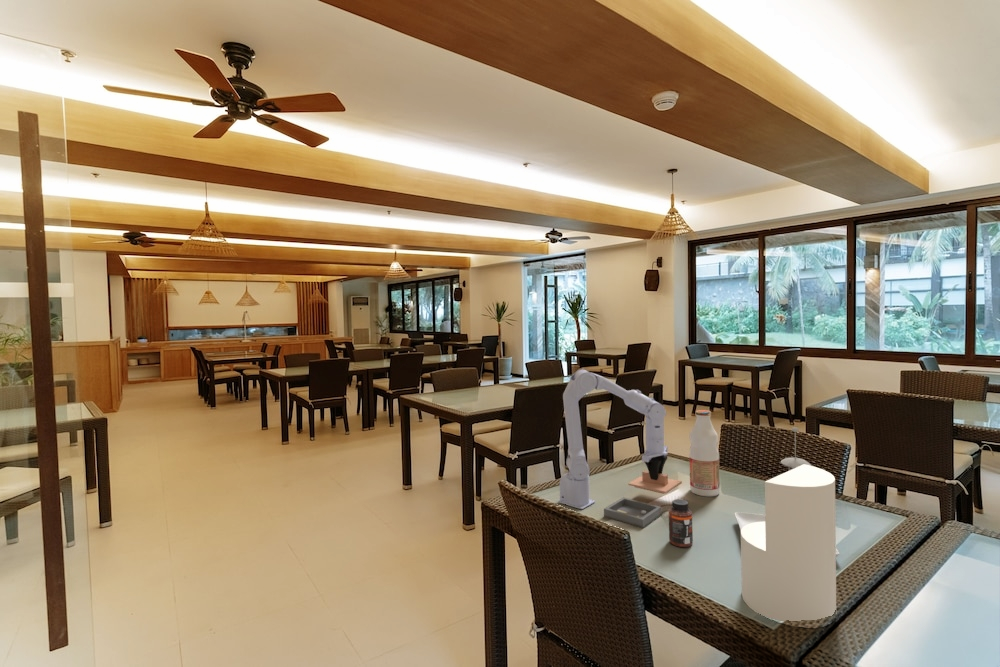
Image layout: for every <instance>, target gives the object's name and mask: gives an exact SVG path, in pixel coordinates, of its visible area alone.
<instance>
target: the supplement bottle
mask: <svg viewBox="0 0 1000 667" xmlns="http://www.w3.org/2000/svg"><path fill="white" fill-rule="evenodd" d="M671 506H672V507H670V508H668V509H669V510H668V535H669V536H668V539H669V542H670V543H671V545H673V546H675V547H679V548H688V547H691V546H692V545H693V536H694V535H693V512H692V510H691V509H689V502H688V501H687V500H685V499H681V498H680V499H678V498H677V499H673V500H672V504H671Z"/></svg>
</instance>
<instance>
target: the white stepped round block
mask: <svg viewBox="0 0 1000 667" xmlns="http://www.w3.org/2000/svg"><path fill="white" fill-rule="evenodd" d="M764 509H765V510H764V514H765V521H763V522H754V523H750V524H747V525H745V526H744V527H743V528H742V529H741V531H740V566H741V567H740V571H741V574H740V575H741V576H740V577H741V580H740V581H741V582H740V583H741V597H742V599H743V601H744V602H745V604H746V605H747V606H748V607H749V608H750V609H751V610H752V611H754V612H755V613H756V612H757V613H756V614H758V613H759V614H758V615H760V614H761V615H760V616H762V615H763V616H766V617H768V618H771V619H775V620H780V621H785V620H789V621H801V620H817V619H821V618H825V617H828V616H832V615H833V614H834V612H835V610H836V611H837V561H836V560H837V557H836V548H837V546H836V545H837V544H836V543H837V542H836V539H837V538H836V537H837V536H836V531H837V530H836V528H837V527H836V525H837V524H836V478H835V476H834V475H833V474H832V473H831V472H829V471H826V469H822V468H819V467H816V466H814V465H811V466H810V465H806V464H803V465H801V466H799V467H796V468H791V469H790V471H789V470H788V471H786V472H783V473H781V474H779V475H776V476H774V477H772V478H769V479H768V480H766V481H764ZM763 616H762V617H763Z"/></svg>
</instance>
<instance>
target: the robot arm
mask: <svg viewBox="0 0 1000 667" xmlns="http://www.w3.org/2000/svg"><path fill="white" fill-rule="evenodd" d="M594 390H597V391H601V390H604V391H607V392H609V393H611V394H613V395H615V396H617V397H618V398H621V399H622V400H623V402H624V404H625V405H626V406H627V407H629V408H630V409H632V410H634V411H637V412H638V413H640V414H642V415H644V416H645V450H644V453H643V454H642V455H641V461H642V462H644V463H645V466H646V468H647V471H649V474H650V478H651V479H653V480H657V479H658V473H661V474H663V472H664V471H663V470H664V466H665V464H666V461H667V459H668V456H667V455H668V453H669V452H668V451H669V450H668V446H666V445H665V430H664V429H665V428H664V426H665V425H664V419H665V417H666V416H667V411H666V408H665V407H664V405H663V404H662V403H660V402H658V401H656V400H655V398H653V397H651V396H650V397H649V396H647V395H645V394H643V393H642V391H641V390H639V389H631V390H630V389H629V390H626V388H624V387H622V386H620V385H618V384H617V383H615V382H614V381H612V380H610V379H608V378H606V377H604V376H602V375H600V374H597V373H594V372H590V371H588V370H587V369H585V368H584V369H577V370H576V371H575V372H574V373H573V374H572V375H571V376H570V378H569V381H568V383H567V385H566V387H565V390H564V391H563V393H562V400H563V411H564V418H565V420H564V421H565V429H566V438H567V446H568V449H567V458H566V461H565V463H566V466H567V468H568V472H567V473H564V474H562V475H561V477H560V479H559V500H558V503H559V504H562V505H565V504H566V505H567V506H569V507H573V508H576V509H579V510H584V509H585V508H587V507H589V506H591V505H592V504H595V502H596V501H595V500H593V499H591V498H590V497H591V496H590V471H591V470H590V465H589V464H588V462H587V459H586V454H585V450H584V444H583V443H584V442H583V434H582V426H581V424H582V422H581V416H580V415H581V414H580V406H579V401H580V400H581V399H582V398H583V397H584V396H585V395H586V394H588V393H591V392H592V391H594Z"/></svg>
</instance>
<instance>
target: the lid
mask: <svg viewBox="0 0 1000 667" xmlns="http://www.w3.org/2000/svg"><path fill="white" fill-rule="evenodd" d="M682 483H683V481H682V480H678V479H672V478H669V475H668V474H666V473H662V474H661V473H658V479H657V480H653V479H651V478H650V474H649V471H648V470H646V469H645V470H643V471H642V472H641V475H640V476H638V477H636V478H635V479H633V480H631V481H629V482H628V485H627V486H631V487H634V488H637V489H641V490H645V491H649V492H653V493H658V494H663V495H664V494H666V495H667V494H668V493H669V492H670V491H672V490H674V489H675V488H677V487H679V486H680V485H681V484H682Z"/></svg>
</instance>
